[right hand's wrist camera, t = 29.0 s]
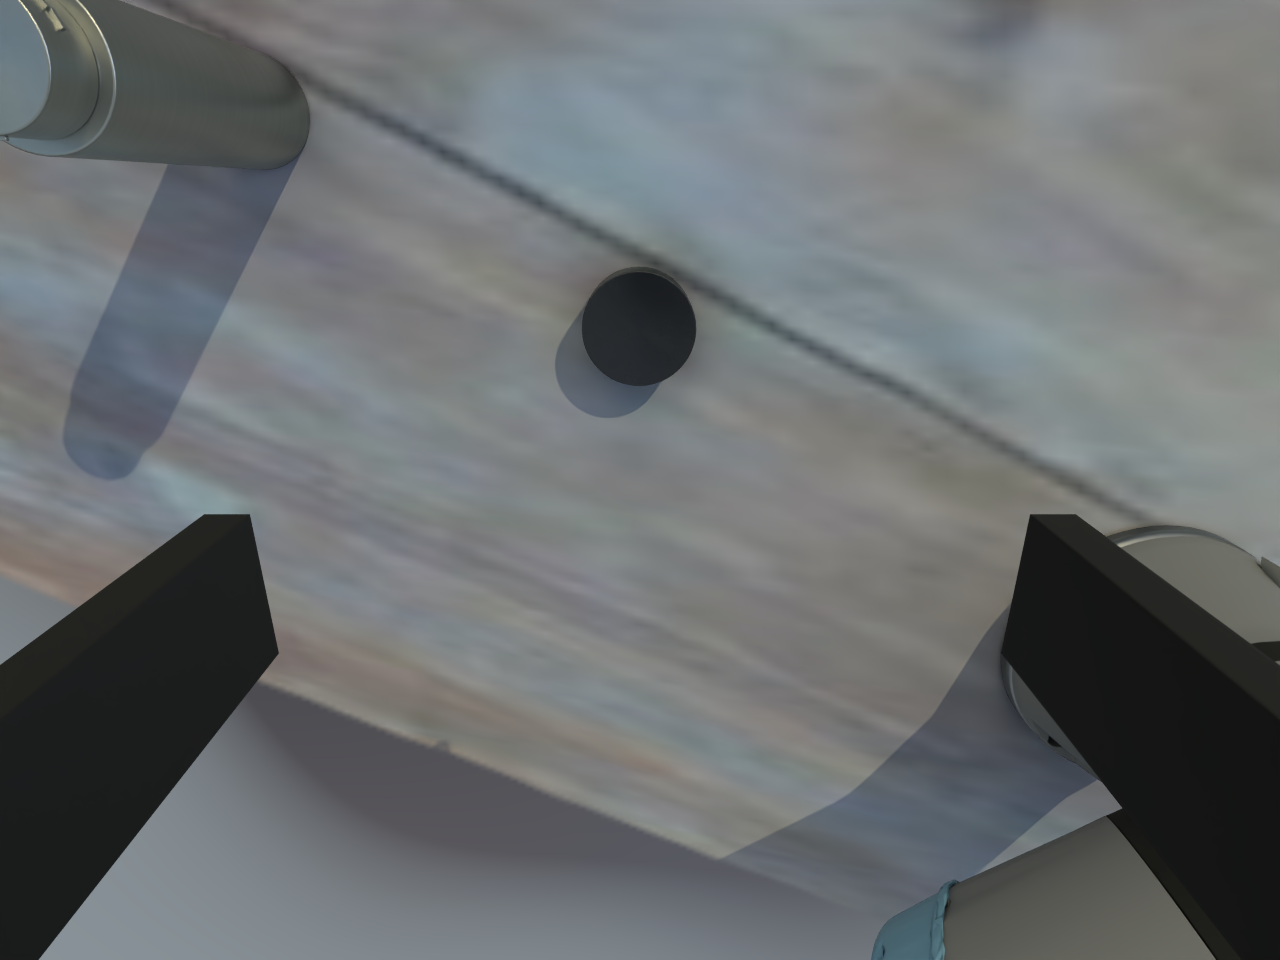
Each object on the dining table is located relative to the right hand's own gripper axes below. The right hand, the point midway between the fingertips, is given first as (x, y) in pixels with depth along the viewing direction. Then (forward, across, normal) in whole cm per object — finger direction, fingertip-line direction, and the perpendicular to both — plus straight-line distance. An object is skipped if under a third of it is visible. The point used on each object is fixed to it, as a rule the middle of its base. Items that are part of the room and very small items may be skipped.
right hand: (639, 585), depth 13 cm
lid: (+24, 0, 0) cm, 24 cm away
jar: (+26, +17, -10) cm, 33 cm away
